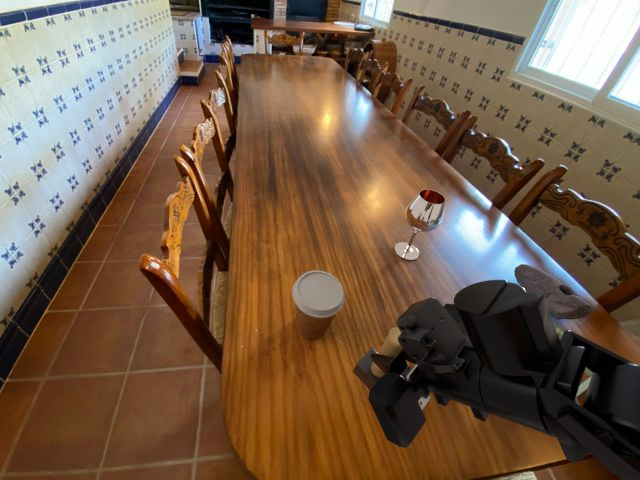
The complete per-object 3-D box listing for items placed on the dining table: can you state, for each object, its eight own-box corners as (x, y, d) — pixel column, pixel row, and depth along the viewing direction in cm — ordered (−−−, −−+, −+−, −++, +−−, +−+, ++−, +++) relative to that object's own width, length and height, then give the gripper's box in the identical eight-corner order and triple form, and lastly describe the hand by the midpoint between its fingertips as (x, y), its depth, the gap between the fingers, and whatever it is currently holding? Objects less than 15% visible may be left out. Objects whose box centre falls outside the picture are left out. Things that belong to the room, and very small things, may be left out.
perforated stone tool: (502, 276, 74) (518, 257, 69) (518, 272, 75) (534, 253, 71) (560, 330, 63) (583, 312, 58) (577, 324, 64) (601, 306, 60)
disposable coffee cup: (286, 305, 63) (290, 269, 56) (329, 303, 64) (339, 267, 57) (290, 349, 56) (295, 314, 48) (339, 346, 57) (352, 311, 50)
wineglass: (428, 260, 76) (459, 205, 65) (401, 265, 74) (427, 209, 63) (411, 238, 82) (436, 184, 71) (385, 242, 80) (406, 188, 69)
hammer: (396, 383, 46) (426, 342, 38) (380, 402, 44) (408, 362, 36) (367, 356, 49) (389, 312, 41) (352, 371, 47) (372, 329, 39)
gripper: (499, 268, 34) (392, 270, 48) (414, 375, 24) (308, 341, 38) (534, 352, 35) (419, 332, 48) (465, 490, 25) (344, 417, 38)
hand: (377, 351), depth 43 cm, fingers closed on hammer, 2 cm apart
